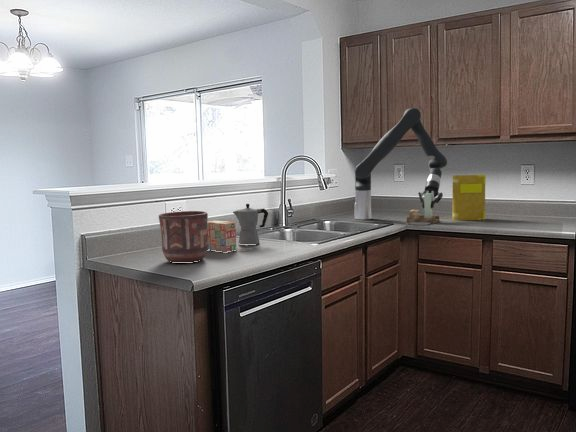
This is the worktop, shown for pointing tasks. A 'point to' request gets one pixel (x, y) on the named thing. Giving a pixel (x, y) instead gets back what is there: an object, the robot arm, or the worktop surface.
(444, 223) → the worktop surface
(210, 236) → the stack of blocks
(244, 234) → the coffeepot
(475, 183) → the book
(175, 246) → the pottery
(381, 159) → the robot arm
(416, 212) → the offcut top
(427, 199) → the slat
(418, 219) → the rack
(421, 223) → the mat
